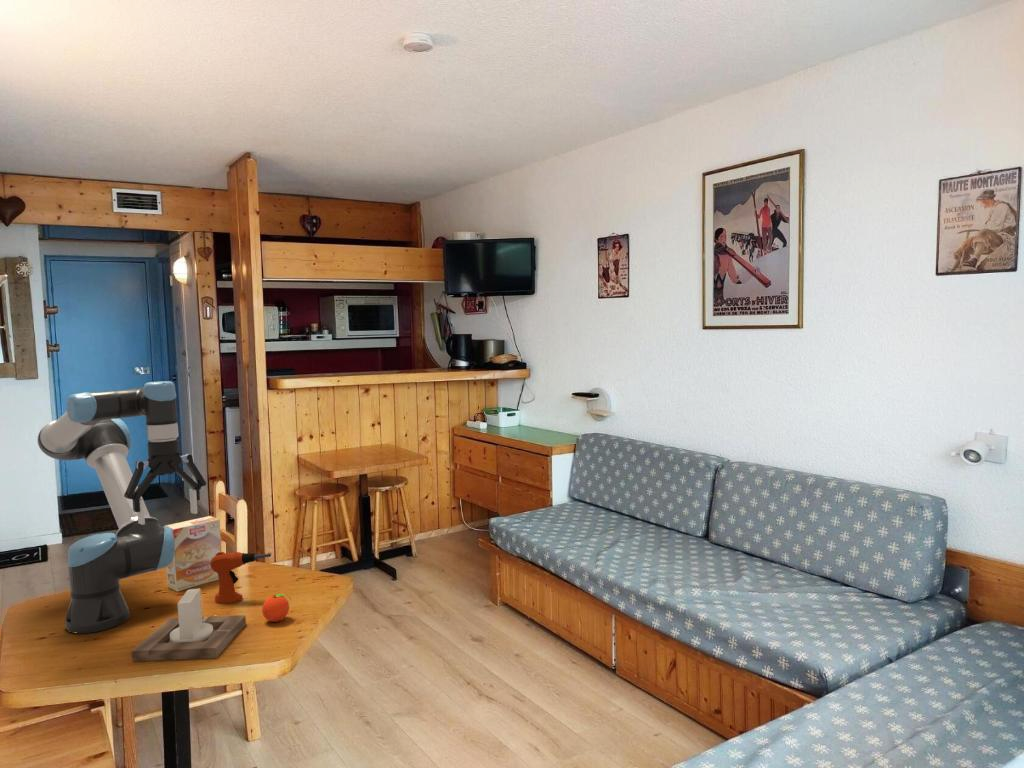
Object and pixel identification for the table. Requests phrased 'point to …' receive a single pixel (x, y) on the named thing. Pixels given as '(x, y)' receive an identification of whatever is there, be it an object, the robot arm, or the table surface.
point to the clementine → (275, 608)
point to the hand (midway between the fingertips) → (168, 518)
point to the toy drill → (230, 573)
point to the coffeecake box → (194, 553)
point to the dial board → (162, 649)
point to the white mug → (191, 620)
